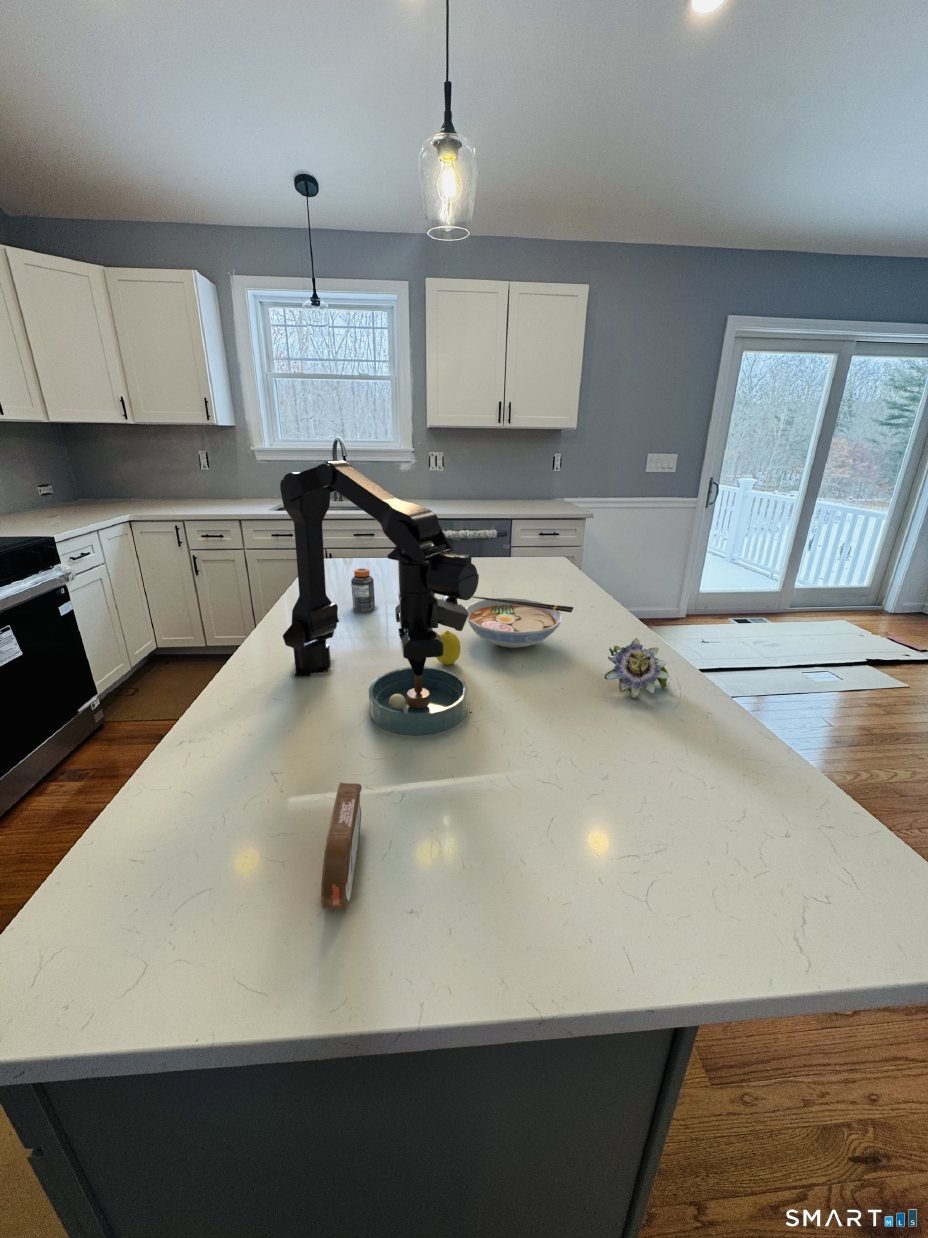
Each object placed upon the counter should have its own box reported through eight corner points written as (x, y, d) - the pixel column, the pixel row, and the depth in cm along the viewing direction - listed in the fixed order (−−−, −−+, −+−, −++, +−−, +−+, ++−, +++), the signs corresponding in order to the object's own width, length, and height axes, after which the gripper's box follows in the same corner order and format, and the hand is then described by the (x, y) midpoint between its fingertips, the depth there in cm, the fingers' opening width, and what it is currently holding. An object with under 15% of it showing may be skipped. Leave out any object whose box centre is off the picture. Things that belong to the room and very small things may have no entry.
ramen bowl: (443, 651, 115) (443, 617, 112) (478, 618, 135) (479, 589, 132) (552, 672, 106) (555, 636, 103) (572, 633, 126) (576, 602, 123)
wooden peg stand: (408, 709, 89) (406, 652, 85) (406, 698, 92) (404, 643, 89) (431, 707, 90) (430, 650, 86) (428, 696, 93) (427, 641, 89)
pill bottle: (364, 604, 144) (362, 565, 139) (379, 608, 140) (377, 568, 136) (348, 609, 139) (345, 569, 135) (363, 614, 136) (361, 573, 132)
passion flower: (629, 720, 99) (603, 680, 94) (616, 684, 108) (591, 646, 103) (685, 695, 96) (660, 652, 91) (666, 661, 105) (642, 620, 100)
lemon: (457, 672, 105) (457, 637, 102) (431, 670, 106) (431, 634, 103) (462, 661, 110) (463, 627, 107) (437, 658, 111) (437, 625, 108)
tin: (341, 821, 65) (337, 767, 62) (366, 820, 66) (363, 766, 63) (321, 929, 52) (313, 867, 48) (352, 927, 52) (347, 865, 49)
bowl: (371, 743, 82) (369, 718, 80) (369, 691, 97) (367, 670, 96) (475, 733, 85) (476, 709, 83) (457, 684, 100) (457, 663, 99)
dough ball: (410, 704, 88) (400, 717, 89) (408, 695, 91) (398, 707, 92) (395, 696, 87) (385, 709, 88) (394, 688, 90) (384, 700, 90)
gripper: (476, 604, 76) (474, 695, 82) (454, 571, 93) (453, 648, 99) (402, 608, 74) (405, 701, 80) (393, 573, 91) (396, 652, 97)
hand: (418, 673), depth 89 cm, fingers closed on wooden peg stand
